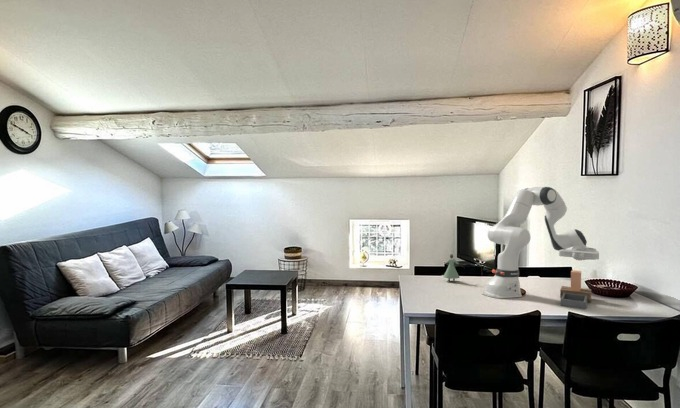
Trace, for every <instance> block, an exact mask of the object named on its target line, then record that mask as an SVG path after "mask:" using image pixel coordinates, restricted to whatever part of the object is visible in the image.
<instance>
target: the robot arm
mask: <svg viewBox="0 0 680 408" xmlns="http://www.w3.org/2000/svg"><path fill="white" fill-rule="evenodd" d="M532 206H537V207H538V206H543V207H544V209H545V212H546V214H545V215H544V222H545V225H546V229H547V232H548V235H549V237H550V238H549V239H550V243H551V247H552V248H553V249H554V250H555V251H558V256H559V257H563V258H573V259H574V260H576V261H588V260H591V261H592V260H594V261H596V260H599V259H600V252H599V251H598V250H597V249H596V248H593V247H588V246H587V242H588V241H587V239H586V237H585V235H584V234H583V232H582V231H581V230H579V229H576V228H575V229H574V228H573V229H571V230H569V231H566V232H562V233H560V234H557V232H556V229H555V225H556V223H558V221H560V220H561V219H563V217H564V216H565V215H566V213H567V209H568V207H567V205H566V203H565V201H564V198H562V196H561V195H560V194H559V192H558V191H557V190H556V189H554V188H552V187H549V186H535V187H527V188H521V189H519V190H518V191H517V192H516V193H515V195H514V197H513V198H512V200H511V203H510V204H509V207H508V209H507V212H506V213H505V215H504V216H503V217H502V219H501V220H500V221H498V222H497V223H496V224H494V225H492V226H489V229H488V231H487V237H488V240H489V241H490V242H493V243H495V244H497V245H504V246H505V247H504V250H503V251H501V252H500V253H498V255H497V268H496V269H494V268H493V269H492V270H491V272H492V273H493V274H494V276H492V277H491V279H490V280H488V282H486V284H485V290H481V294H482V295H484V296H488V297H490V298H494V299H511V298H512V299H513V298H522V297H523V295H522V293H521V284H520V283H521V282H520V280H519V279H520V278H519V276H520V269H519V263H520V262H519V258H520V254H521V252H522V250H523V249H524V248H525V247H526V246H527V245H528V244H530V241H531V233H530V232H529V230H528V229H526V228H522V227H521V226H520V225H522V224H524V223H525V222H526V221H527V219H528V216H529V214H530V211H531V209H532ZM570 248H571V249H570Z"/></svg>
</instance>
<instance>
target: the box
mask: <svg viewBox="0 0 680 408" xmlns="http://www.w3.org/2000/svg"><path fill="white" fill-rule="evenodd" d="M587 305H588V302H587V296H585V295H577V294H569V293H563V295H562V297H561V299H560V307H561V306H562V307H568V308H574V309H581V310H587Z"/></svg>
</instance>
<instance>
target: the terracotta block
mask: <svg viewBox="0 0 680 408" xmlns="http://www.w3.org/2000/svg"><path fill="white" fill-rule="evenodd" d="M570 287H571V290H574V291H581V288H582V270H574V269H571V271H570Z"/></svg>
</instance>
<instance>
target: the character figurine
mask: <svg viewBox="0 0 680 408" xmlns="http://www.w3.org/2000/svg"><path fill="white" fill-rule="evenodd" d="M449 257H450V258H448V259H447V260H446V261H445V262H444V263H442V264H441V266H443V265H444V264H448V266H447V268H446V271H445V272H444V274H443V278H444V279H447V282H448V281H450V282H451V280H452V282H453V281H456V280H457V279H460V275H459V273H458V272H457V270H456V266H455V264H457V265H460V267H461V268H464V265H462V264H461V263H459V261H456V259H455V258H454V255H453V254H450V255H449ZM455 279H456V280H455Z"/></svg>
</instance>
